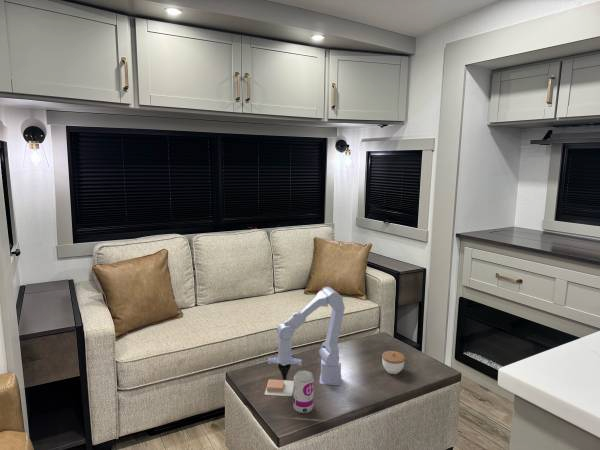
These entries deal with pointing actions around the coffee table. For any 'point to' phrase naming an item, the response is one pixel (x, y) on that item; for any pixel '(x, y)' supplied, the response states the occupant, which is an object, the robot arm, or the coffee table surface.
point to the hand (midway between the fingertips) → (284, 378)
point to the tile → (275, 385)
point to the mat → (286, 390)
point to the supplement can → (303, 391)
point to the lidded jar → (393, 361)
